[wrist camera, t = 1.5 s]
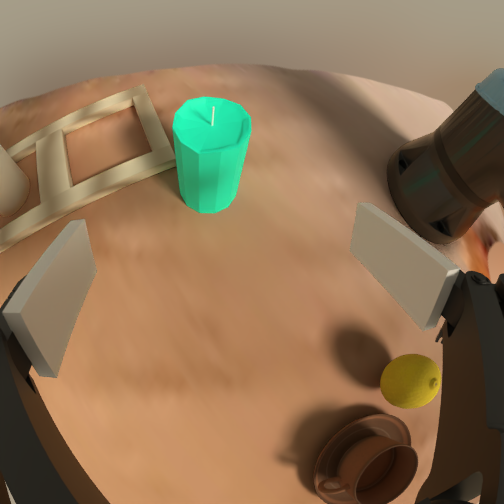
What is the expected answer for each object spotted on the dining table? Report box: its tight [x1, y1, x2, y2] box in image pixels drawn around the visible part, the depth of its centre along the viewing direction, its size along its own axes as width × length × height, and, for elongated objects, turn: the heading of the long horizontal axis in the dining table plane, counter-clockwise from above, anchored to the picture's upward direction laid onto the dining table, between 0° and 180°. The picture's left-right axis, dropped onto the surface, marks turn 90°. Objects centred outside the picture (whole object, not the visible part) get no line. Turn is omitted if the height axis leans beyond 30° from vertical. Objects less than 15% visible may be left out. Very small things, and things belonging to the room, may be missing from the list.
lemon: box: [380, 354, 441, 409], centre depth 23 cm, size 6×6×8 cm
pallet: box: [0, 84, 177, 253], centre depth 27 cm, size 28×14×2 cm, turn 117°
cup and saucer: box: [313, 414, 418, 504], centre depth 21 cm, size 12×12×6 cm
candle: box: [172, 97, 251, 213], centre depth 24 cm, size 6×6×12 cm
